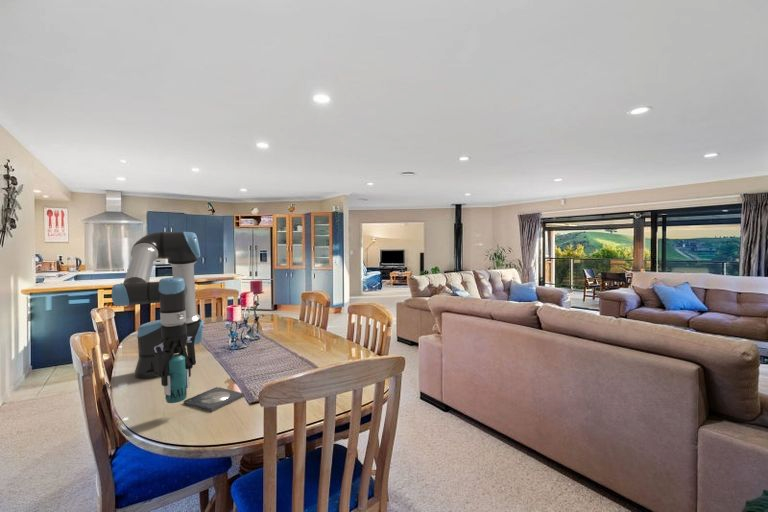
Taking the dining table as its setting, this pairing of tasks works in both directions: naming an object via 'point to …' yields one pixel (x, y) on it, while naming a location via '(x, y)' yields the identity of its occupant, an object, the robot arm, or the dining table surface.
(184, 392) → the beverage bottle
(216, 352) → the dining table surface
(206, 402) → the motor plate
